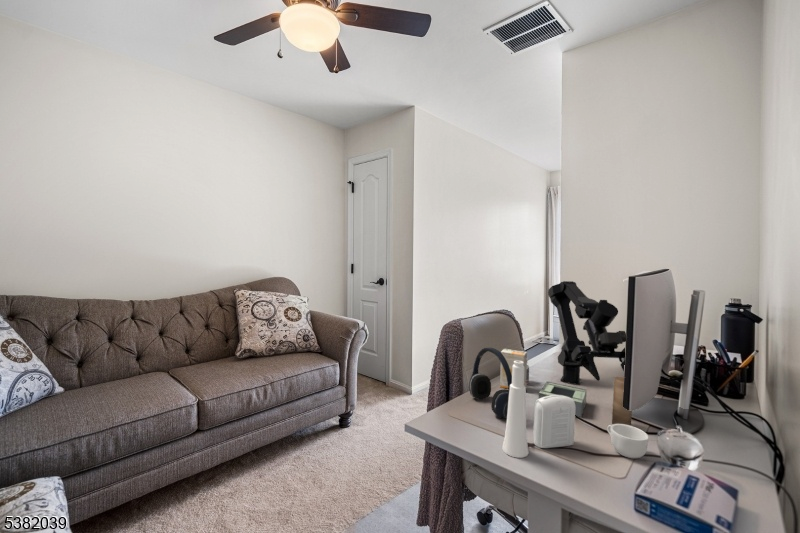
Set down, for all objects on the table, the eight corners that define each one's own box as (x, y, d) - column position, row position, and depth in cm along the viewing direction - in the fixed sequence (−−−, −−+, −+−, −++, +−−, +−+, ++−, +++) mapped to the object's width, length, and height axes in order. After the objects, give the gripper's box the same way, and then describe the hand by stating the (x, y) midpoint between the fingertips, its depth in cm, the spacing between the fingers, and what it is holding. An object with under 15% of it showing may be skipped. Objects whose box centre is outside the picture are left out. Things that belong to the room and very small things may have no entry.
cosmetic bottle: (498, 444, 89) (501, 357, 88) (521, 443, 89) (525, 357, 88) (508, 458, 83) (511, 365, 82) (533, 457, 83) (536, 365, 82)
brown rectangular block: (612, 419, 103) (614, 375, 103) (631, 424, 101) (633, 379, 100) (611, 425, 100) (613, 380, 99) (630, 430, 97) (633, 384, 96)
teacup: (655, 460, 83) (656, 438, 83) (629, 465, 81) (631, 442, 81) (618, 438, 93) (619, 418, 93) (595, 442, 91) (596, 421, 91)
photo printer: (565, 437, 93) (567, 391, 92) (576, 446, 89) (579, 397, 88) (530, 441, 91) (532, 393, 90) (540, 450, 86) (542, 401, 86)
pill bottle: (526, 380, 134) (527, 357, 133) (530, 385, 128) (531, 361, 128) (512, 379, 134) (513, 356, 134) (515, 384, 129) (516, 360, 128)
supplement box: (526, 388, 126) (527, 351, 125) (523, 392, 122) (524, 355, 121) (503, 383, 130) (504, 347, 130) (499, 387, 126) (500, 350, 125)
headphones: (520, 421, 101) (523, 358, 100) (499, 424, 99) (502, 359, 98) (483, 393, 120) (485, 340, 120) (465, 395, 118) (467, 341, 117)
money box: (546, 394, 121) (546, 381, 120) (585, 403, 114) (586, 389, 114) (538, 406, 111) (538, 392, 110) (581, 417, 104) (581, 402, 104)
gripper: (576, 319, 109) (592, 366, 99) (639, 321, 108) (662, 369, 98) (565, 338, 117) (578, 383, 107) (623, 340, 116) (643, 386, 106)
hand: (614, 380), depth 104 cm, fingers open, 9 cm apart
